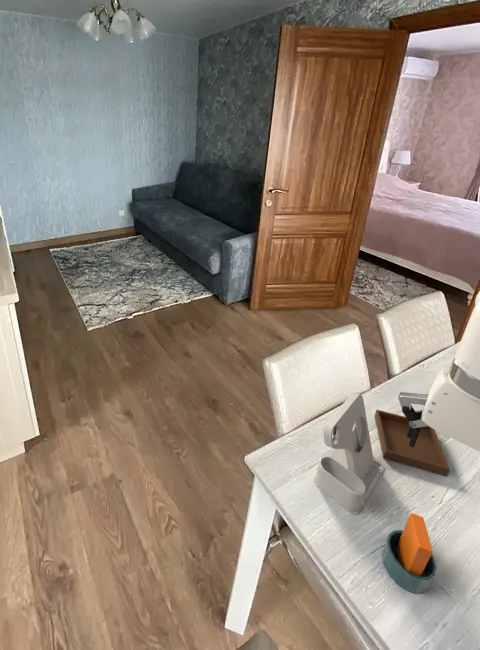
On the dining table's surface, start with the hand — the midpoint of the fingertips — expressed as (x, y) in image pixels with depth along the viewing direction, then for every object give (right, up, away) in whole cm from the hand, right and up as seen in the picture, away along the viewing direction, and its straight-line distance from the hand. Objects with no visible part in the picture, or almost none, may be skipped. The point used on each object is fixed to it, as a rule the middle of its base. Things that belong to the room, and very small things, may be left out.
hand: (446, 459), depth 57 cm
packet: (-2, -25, +7) cm, 26 cm away
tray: (+15, -15, +31) cm, 38 cm away
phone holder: (-5, -19, +23) cm, 30 cm away
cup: (-2, -25, +7) cm, 26 cm away
